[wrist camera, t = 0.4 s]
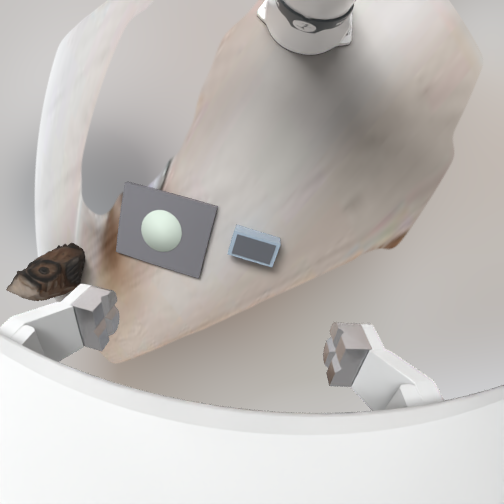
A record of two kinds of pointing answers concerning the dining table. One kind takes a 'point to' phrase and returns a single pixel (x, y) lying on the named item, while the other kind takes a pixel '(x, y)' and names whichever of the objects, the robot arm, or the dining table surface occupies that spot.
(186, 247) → the charging mat
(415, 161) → the dining table surface
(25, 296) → the brown rock
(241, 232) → the phone
